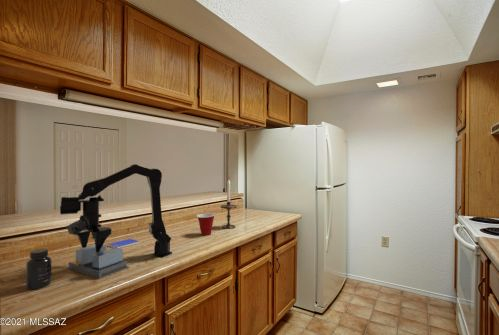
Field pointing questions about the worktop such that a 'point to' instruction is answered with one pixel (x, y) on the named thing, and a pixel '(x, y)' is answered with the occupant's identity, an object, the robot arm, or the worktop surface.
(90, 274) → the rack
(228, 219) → the candlestick
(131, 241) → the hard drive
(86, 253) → the pale grey block
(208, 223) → the plastic cup
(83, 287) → the worktop surface
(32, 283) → the supplement bottle
